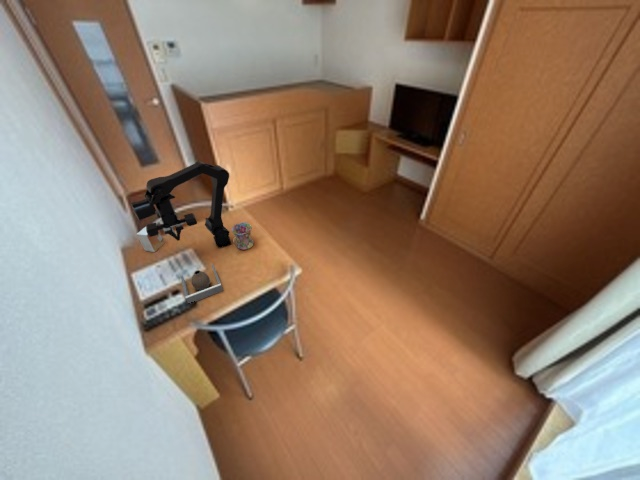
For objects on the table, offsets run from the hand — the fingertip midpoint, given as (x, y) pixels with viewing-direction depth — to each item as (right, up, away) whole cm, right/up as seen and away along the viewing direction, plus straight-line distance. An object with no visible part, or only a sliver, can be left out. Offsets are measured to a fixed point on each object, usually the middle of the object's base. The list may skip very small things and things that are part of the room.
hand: (178, 240), depth 117 cm
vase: (+13, -20, -5) cm, 24 cm away
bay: (+13, -19, -5) cm, 24 cm away
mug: (+24, -4, +15) cm, 29 cm away
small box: (-19, -3, +15) cm, 25 cm away
